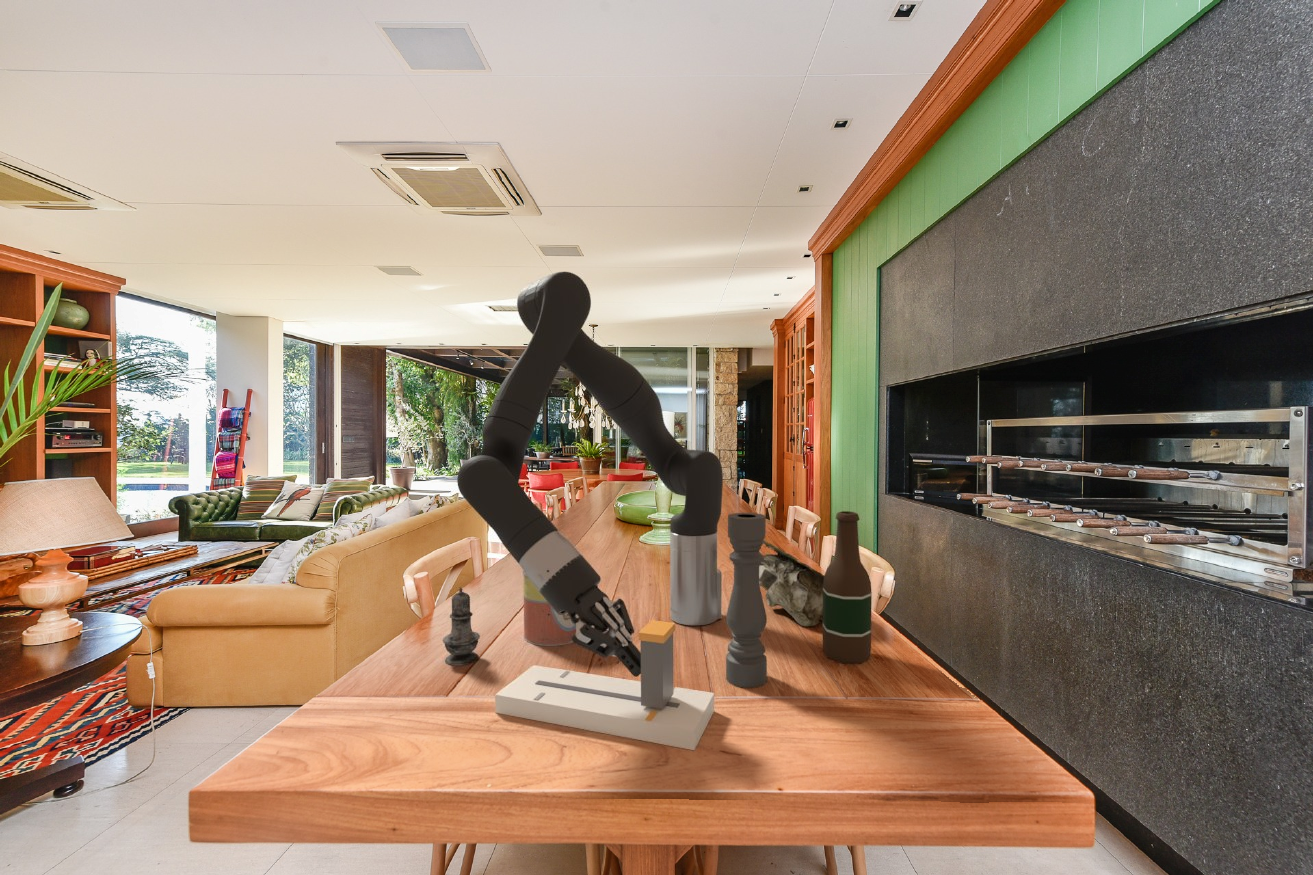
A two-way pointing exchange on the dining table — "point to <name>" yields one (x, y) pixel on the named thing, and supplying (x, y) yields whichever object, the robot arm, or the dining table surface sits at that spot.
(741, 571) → the candle holder
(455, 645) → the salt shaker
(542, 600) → the canned food
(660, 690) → the fader knob
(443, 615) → the dining table surface
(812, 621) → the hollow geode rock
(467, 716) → the dining table surface
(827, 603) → the beer bottle
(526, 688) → the fader console
